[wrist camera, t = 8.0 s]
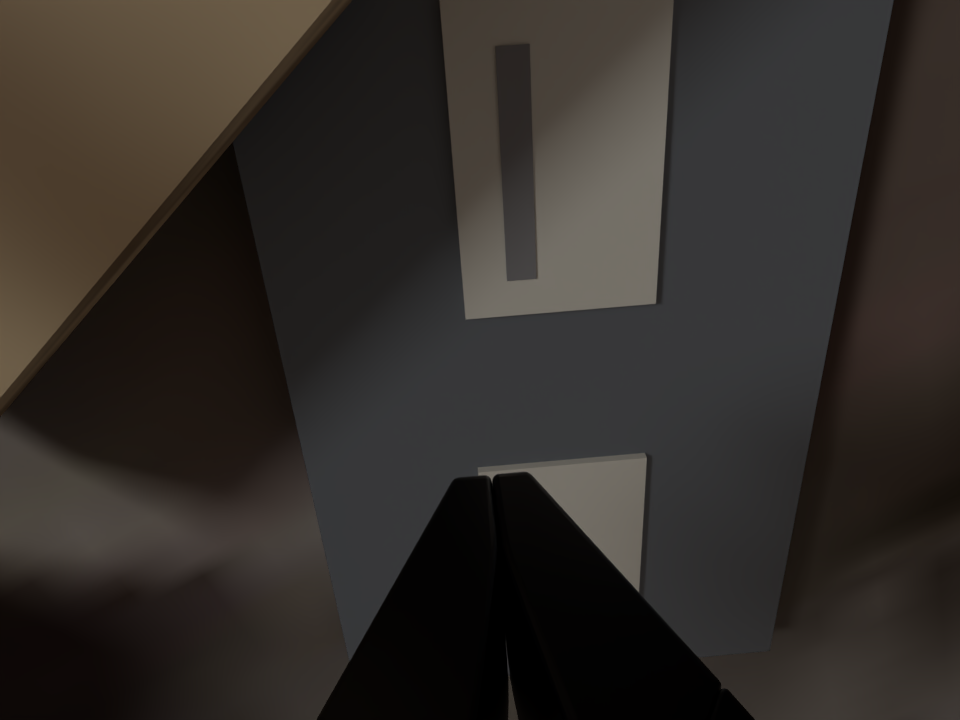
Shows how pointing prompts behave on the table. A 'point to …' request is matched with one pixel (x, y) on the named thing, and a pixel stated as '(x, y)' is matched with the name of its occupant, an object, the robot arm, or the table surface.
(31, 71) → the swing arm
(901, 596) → the table surface
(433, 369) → the label board
